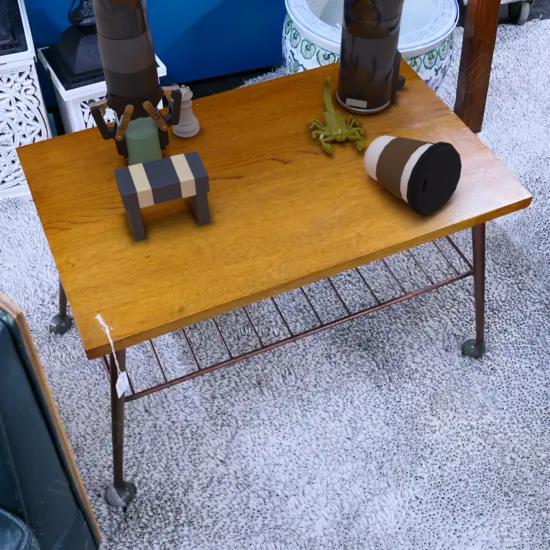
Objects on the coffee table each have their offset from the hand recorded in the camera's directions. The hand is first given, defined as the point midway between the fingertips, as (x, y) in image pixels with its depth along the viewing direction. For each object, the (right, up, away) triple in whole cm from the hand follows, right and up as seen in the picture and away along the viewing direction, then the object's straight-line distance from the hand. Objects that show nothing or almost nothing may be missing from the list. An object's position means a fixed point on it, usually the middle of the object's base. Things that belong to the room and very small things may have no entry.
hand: (144, 150), depth 117 cm
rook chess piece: (+6, +4, +6) cm, 10 cm away
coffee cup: (+36, -1, -3) cm, 36 cm away
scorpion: (+30, +5, +7) cm, 31 cm away
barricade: (+5, -11, -7) cm, 14 cm away
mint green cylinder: (0, -1, +1) cm, 2 cm away
